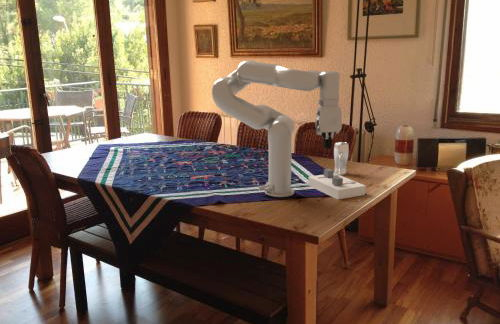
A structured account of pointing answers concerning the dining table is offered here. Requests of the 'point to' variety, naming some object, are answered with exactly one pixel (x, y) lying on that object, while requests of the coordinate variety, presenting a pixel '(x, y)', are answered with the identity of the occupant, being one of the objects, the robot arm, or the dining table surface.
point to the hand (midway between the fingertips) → (327, 148)
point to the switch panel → (337, 192)
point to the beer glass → (340, 157)
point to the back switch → (328, 173)
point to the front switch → (337, 181)
